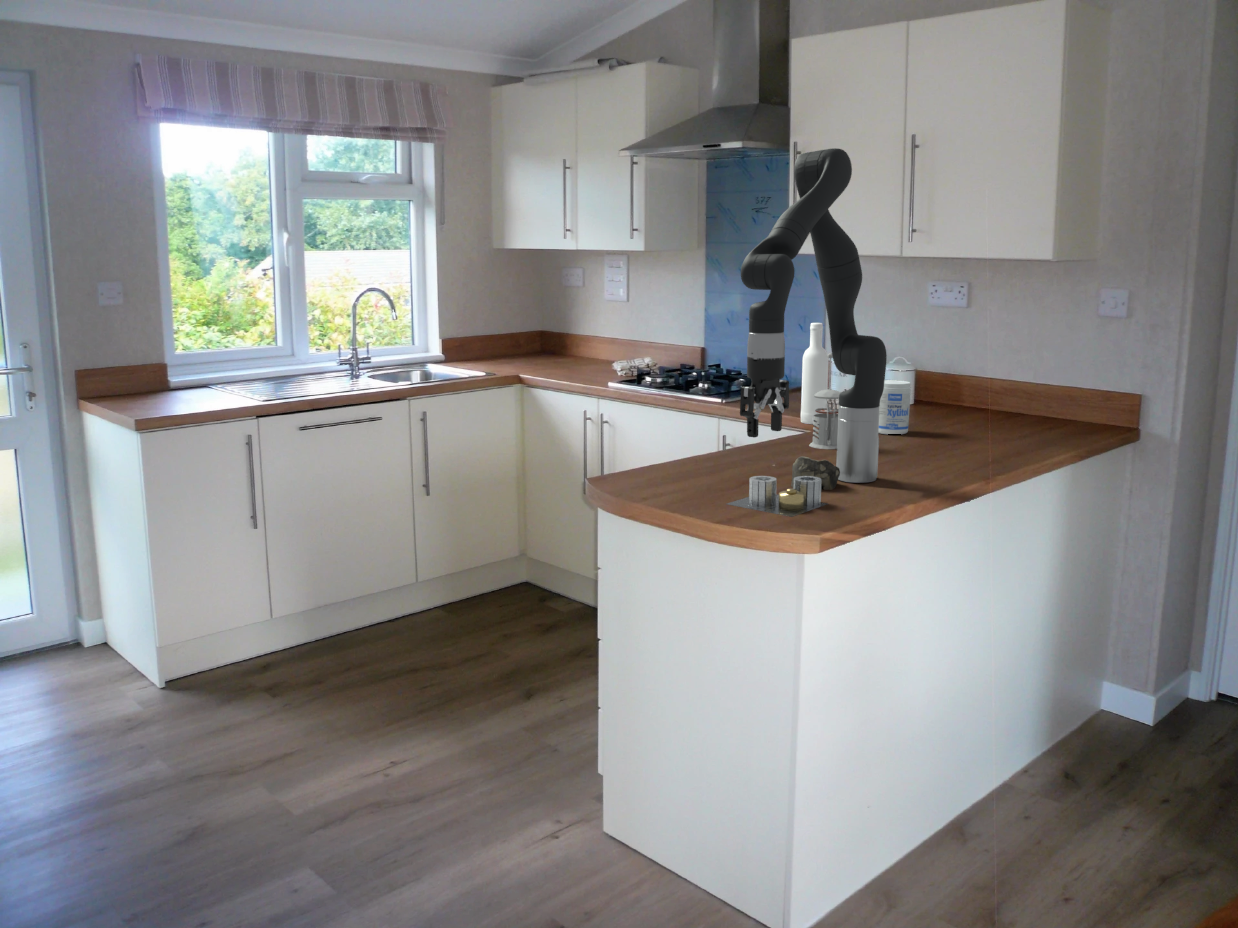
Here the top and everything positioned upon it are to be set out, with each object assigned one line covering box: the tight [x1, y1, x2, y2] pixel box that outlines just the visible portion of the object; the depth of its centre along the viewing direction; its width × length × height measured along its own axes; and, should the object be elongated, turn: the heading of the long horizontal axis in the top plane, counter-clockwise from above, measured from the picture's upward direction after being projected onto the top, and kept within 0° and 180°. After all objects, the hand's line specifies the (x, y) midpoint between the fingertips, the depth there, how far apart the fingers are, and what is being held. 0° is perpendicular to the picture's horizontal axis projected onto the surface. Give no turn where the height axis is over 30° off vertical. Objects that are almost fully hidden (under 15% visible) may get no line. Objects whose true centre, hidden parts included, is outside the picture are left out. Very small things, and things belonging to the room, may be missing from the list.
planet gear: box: [748, 475, 778, 506], centre depth 223 cm, size 6×6×5 cm
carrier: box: [726, 487, 829, 518], centre depth 222 cm, size 14×16×5 cm
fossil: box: [790, 455, 840, 491], centre depth 238 cm, size 11×9×10 cm
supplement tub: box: [878, 379, 912, 435], centre depth 308 cm, size 10×10×15 cm
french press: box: [808, 352, 842, 450], centre depth 287 cm, size 10×12×25 cm
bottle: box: [800, 322, 830, 425], centre depth 324 cm, size 8×8×30 cm
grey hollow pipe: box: [792, 476, 822, 506], centre depth 223 cm, size 6×6×5 cm
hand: (764, 433), depth 221 cm, fingers open, 8 cm apart
